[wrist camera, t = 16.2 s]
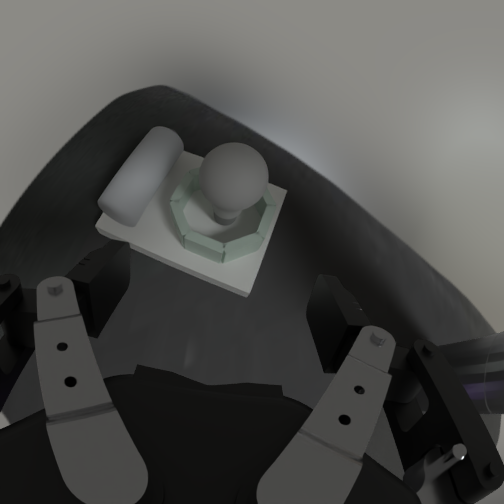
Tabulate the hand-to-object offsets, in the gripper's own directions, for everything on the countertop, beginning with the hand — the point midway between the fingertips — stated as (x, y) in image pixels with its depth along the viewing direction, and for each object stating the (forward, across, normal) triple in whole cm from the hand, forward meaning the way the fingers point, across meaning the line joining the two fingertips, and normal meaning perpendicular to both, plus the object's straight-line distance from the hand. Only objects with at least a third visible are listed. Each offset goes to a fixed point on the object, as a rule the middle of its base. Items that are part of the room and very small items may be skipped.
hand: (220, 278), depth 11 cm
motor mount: (+22, +4, +4) cm, 23 cm away
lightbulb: (+20, 0, +4) cm, 20 cm away
